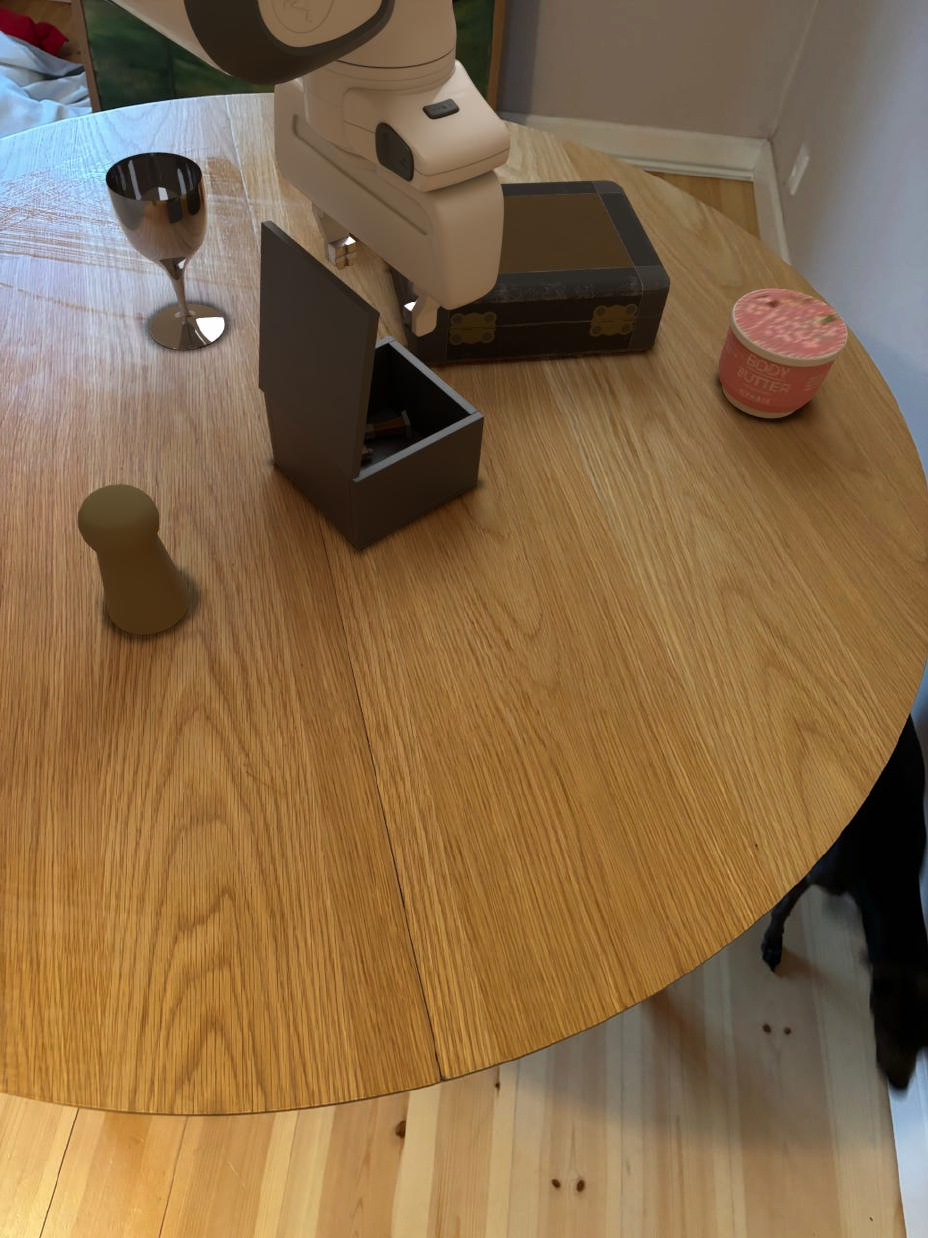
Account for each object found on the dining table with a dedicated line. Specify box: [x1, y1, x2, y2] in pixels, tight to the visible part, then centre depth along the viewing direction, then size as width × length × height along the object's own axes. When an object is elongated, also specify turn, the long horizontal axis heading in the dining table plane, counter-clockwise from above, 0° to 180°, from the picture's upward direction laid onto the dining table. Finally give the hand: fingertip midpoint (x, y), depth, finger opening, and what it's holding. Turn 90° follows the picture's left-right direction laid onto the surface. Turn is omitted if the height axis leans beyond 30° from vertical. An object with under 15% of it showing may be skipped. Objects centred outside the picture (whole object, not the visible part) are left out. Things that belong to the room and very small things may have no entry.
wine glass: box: [105, 151, 226, 351], centre depth 81 cm, size 8×8×15 cm
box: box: [263, 334, 485, 551], centre depth 74 cm, size 13×13×8 cm
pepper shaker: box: [77, 483, 191, 636], centre depth 63 cm, size 6×6×11 cm
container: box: [718, 288, 849, 419], centre depth 84 cm, size 10×10×8 cm
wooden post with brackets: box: [361, 411, 411, 460], centre depth 77 cm, size 2×8×4 cm
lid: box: [258, 220, 381, 480], centre depth 63 cm, size 13×13×1 cm
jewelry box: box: [389, 179, 671, 365], centre depth 90 cm, size 25×20×8 cm
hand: (378, 294), depth 64 cm, fingers open, 8 cm apart
